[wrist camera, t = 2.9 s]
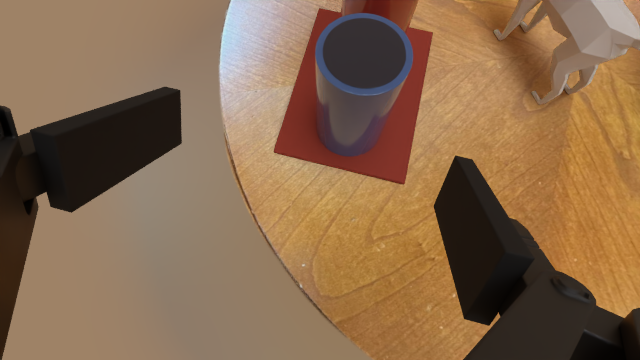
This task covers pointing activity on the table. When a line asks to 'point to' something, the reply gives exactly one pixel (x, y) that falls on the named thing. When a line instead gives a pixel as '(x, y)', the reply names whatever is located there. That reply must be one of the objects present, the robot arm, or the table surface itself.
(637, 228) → the table surface
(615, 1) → the cat figurine
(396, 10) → the red tumbler
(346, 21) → the blue tumbler
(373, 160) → the red mat
